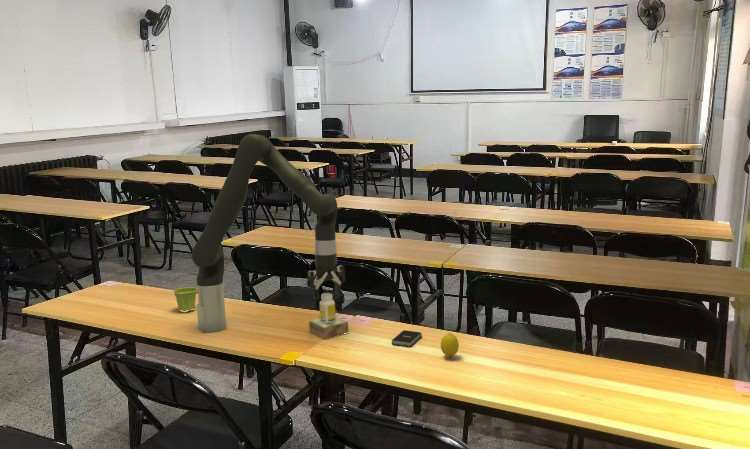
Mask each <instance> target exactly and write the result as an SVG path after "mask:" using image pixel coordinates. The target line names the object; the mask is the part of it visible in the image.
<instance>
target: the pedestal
mask: <svg viewBox="0 0 750 449" xmlns="http://www.w3.org/2000/svg"><path fill="white" fill-rule="evenodd" d="M308 326H309V327H308V329H309V330H308V332H309V333H310V334H312V335H314V336H316V337H317V338H320V339H322V340H324V341H325V339H326V340H328V339H327V338H329V339H331V338H330V337H333V338H335V337H334V336H337V335H340V336H342V335H341V334H344V333H347V332H348V333H349V322H348V321H346V320H344V319H341V318H339V317H337V316H335V322H333V323H322V322H321V321H320V318H316V319H312V320H310V321H308ZM344 335H345V334H344ZM337 337H338V336H337Z"/></svg>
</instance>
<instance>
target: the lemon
mask: <svg viewBox="0 0 750 449" xmlns="http://www.w3.org/2000/svg"><path fill="white" fill-rule="evenodd" d="M459 346H460V345H459V340H458V338H457V336H455V334H453V333H451V332H449V333H447V334H446V333H445V335H443V336H442V337H441V341H440V348H441V349H440V350H441V352H442V353H443V354H444V355H445V356H446V357H448V358H452V357H453V356H456V354H457V353H458V351H459V348H460V347H459Z"/></svg>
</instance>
